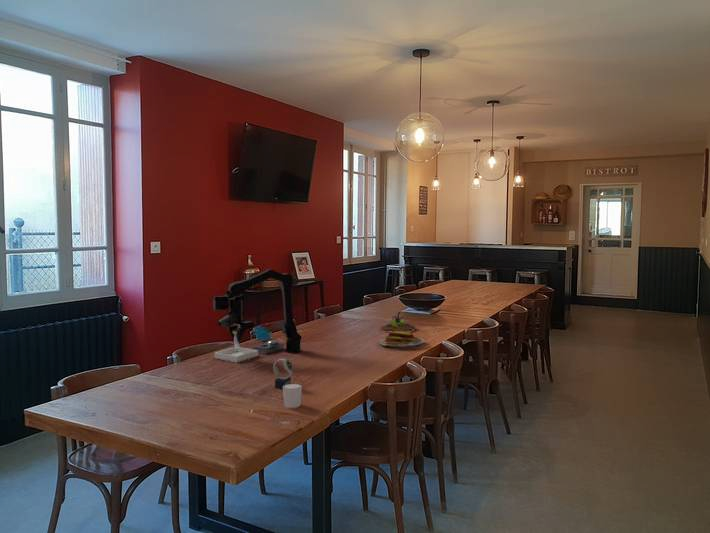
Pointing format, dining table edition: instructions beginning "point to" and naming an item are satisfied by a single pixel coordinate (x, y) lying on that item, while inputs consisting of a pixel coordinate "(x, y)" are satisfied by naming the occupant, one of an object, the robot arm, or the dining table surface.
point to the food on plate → (401, 339)
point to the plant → (398, 325)
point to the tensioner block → (269, 347)
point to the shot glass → (292, 395)
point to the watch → (281, 379)
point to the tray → (236, 354)
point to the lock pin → (235, 340)
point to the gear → (262, 333)
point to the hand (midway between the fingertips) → (236, 341)
